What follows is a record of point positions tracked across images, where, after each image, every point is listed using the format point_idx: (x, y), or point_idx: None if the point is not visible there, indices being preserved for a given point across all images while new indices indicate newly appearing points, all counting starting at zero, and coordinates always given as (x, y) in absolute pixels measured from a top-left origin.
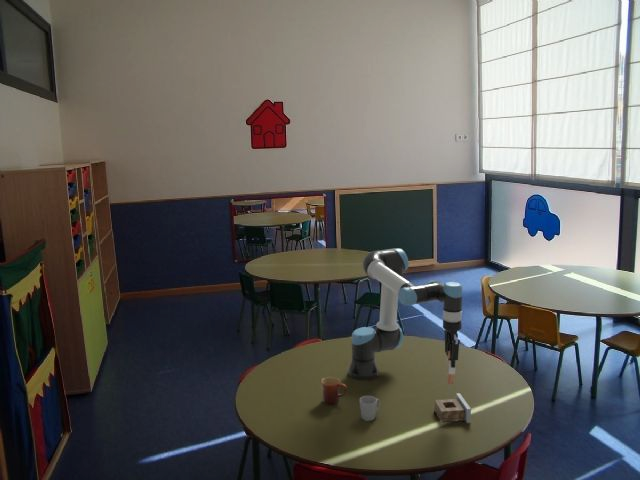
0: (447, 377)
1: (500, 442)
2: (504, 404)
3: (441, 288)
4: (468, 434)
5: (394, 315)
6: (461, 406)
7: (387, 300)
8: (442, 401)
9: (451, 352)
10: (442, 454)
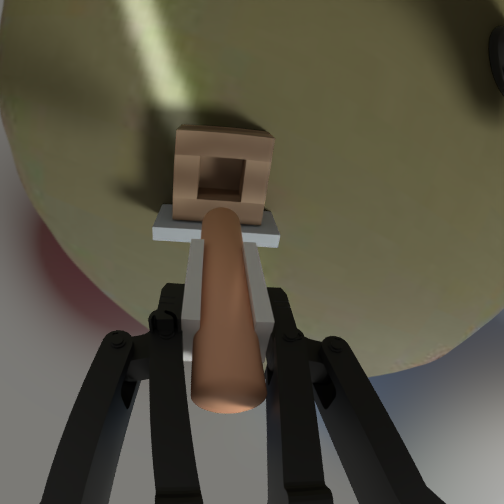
0: (226, 222)
1: (66, 251)
2: None
3: None
4: (100, 185)
5: None
6: (199, 218)
7: None
8: (255, 164)
9: (150, 402)
10: (23, 84)
